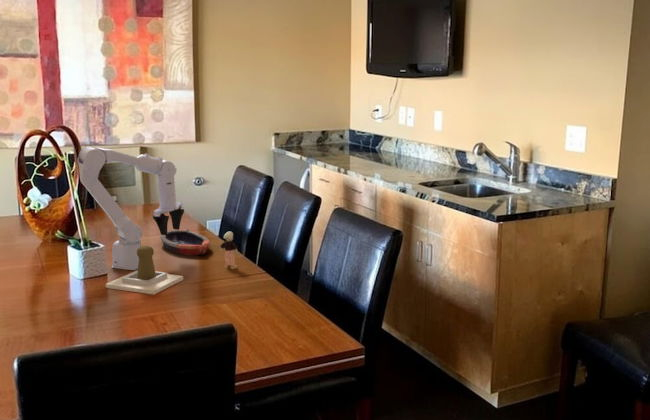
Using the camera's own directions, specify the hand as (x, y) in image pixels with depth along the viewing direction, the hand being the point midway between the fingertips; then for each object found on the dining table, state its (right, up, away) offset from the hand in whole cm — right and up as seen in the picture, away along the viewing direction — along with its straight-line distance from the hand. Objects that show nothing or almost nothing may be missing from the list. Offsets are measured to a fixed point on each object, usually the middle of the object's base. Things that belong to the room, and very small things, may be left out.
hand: (170, 231), depth 241 cm
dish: (+2, -7, +18) cm, 20 cm away
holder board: (-2, -16, -24) cm, 29 cm away
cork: (-2, -15, -25) cm, 29 cm away
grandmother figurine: (+22, -12, -6) cm, 26 cm away
